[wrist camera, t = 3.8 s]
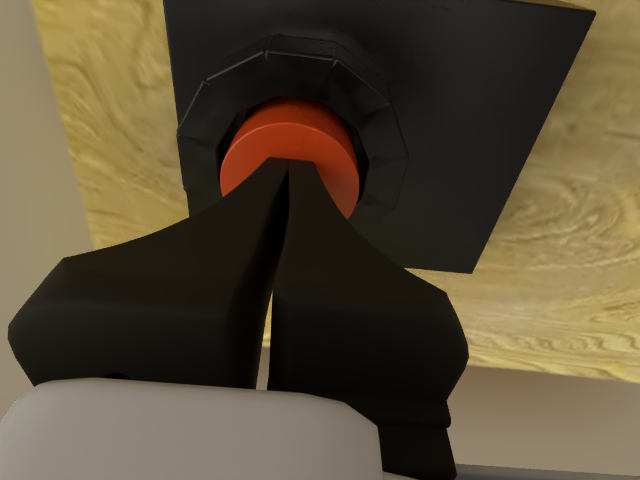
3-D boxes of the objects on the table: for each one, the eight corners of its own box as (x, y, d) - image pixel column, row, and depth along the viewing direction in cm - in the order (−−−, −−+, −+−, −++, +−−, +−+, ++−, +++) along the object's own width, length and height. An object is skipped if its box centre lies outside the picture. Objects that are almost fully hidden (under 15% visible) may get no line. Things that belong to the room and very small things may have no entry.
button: (365, 104, 12) (371, 131, 10) (345, 214, 14) (348, 250, 12) (231, 89, 11) (215, 114, 10) (235, 203, 14) (223, 238, 12)
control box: (561, 0, 12) (640, 22, 9) (459, 243, 19) (485, 306, 15) (181, -50, 12) (127, -44, 9) (205, 218, 18) (179, 278, 15)
